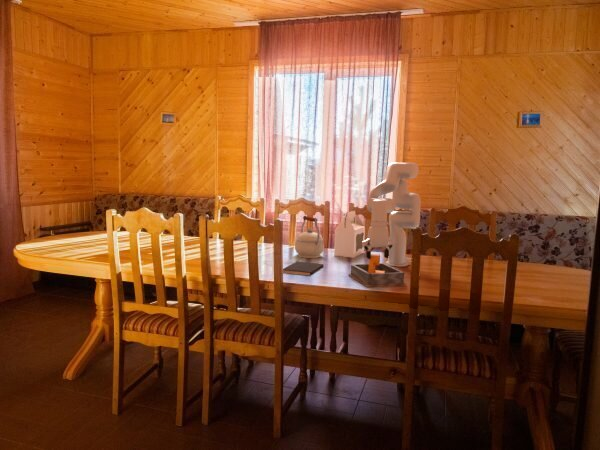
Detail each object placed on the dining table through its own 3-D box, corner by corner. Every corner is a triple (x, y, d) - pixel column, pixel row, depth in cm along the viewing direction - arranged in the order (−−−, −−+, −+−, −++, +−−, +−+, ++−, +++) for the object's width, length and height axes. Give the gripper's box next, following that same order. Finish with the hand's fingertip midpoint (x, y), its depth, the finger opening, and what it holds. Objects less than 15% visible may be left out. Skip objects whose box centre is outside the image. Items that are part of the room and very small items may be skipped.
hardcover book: (281, 273, 247) (281, 269, 246) (297, 265, 268) (297, 261, 268) (310, 276, 241) (310, 272, 241) (323, 267, 263) (323, 263, 263)
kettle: (288, 253, 299) (289, 215, 296) (313, 252, 307) (314, 214, 304) (307, 261, 277) (308, 219, 274) (333, 259, 286) (334, 218, 282)
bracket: (382, 281, 229) (383, 257, 227) (367, 279, 231) (368, 255, 229) (384, 276, 239) (385, 253, 237) (370, 274, 241) (371, 252, 239)
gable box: (345, 250, 317) (346, 209, 313) (364, 252, 311) (365, 210, 308) (333, 255, 297) (335, 212, 293) (353, 257, 291) (355, 213, 288)
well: (383, 274, 249) (383, 262, 248) (405, 285, 226) (406, 273, 225) (348, 275, 243) (349, 264, 242) (368, 287, 220) (368, 274, 219)
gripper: (391, 222, 237) (389, 255, 239) (359, 223, 232) (358, 257, 234) (398, 225, 230) (396, 259, 232) (366, 225, 225) (364, 260, 227)
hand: (377, 258), depth 233 cm, fingers open, 9 cm apart
